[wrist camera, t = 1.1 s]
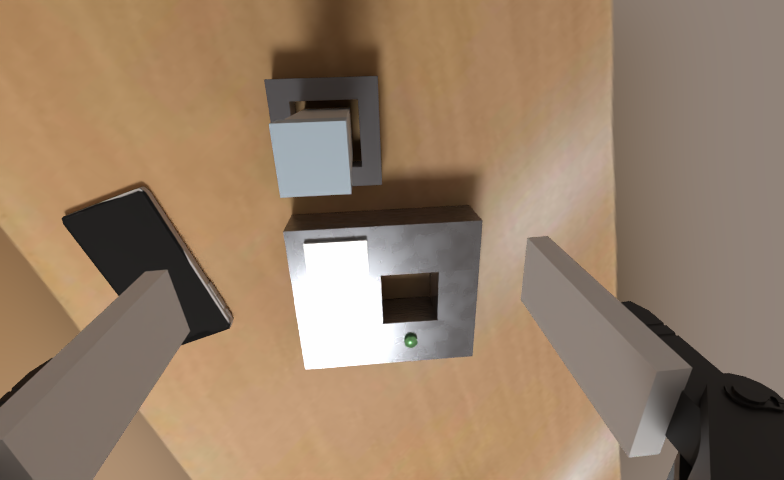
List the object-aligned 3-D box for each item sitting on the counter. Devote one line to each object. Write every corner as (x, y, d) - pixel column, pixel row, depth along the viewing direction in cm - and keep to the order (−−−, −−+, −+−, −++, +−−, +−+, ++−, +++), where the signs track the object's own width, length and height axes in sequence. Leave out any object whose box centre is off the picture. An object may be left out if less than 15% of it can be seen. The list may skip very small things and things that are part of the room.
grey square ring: (272, 79, 28) (264, 79, 26) (376, 76, 29) (377, 75, 26) (287, 181, 31) (281, 189, 29) (380, 177, 32) (381, 184, 30)
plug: (303, 107, 29) (268, 123, 18) (351, 105, 29) (345, 120, 18) (308, 155, 31) (280, 197, 20) (354, 153, 31) (351, 193, 20)
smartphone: (143, 186, 30) (234, 327, 36) (151, 182, 31) (238, 319, 37) (56, 219, 30) (160, 352, 36) (67, 214, 32) (166, 344, 37)
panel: (291, 214, 33) (282, 233, 29) (469, 205, 34) (484, 222, 29) (310, 341, 38) (304, 372, 34) (461, 330, 39) (473, 358, 35)
